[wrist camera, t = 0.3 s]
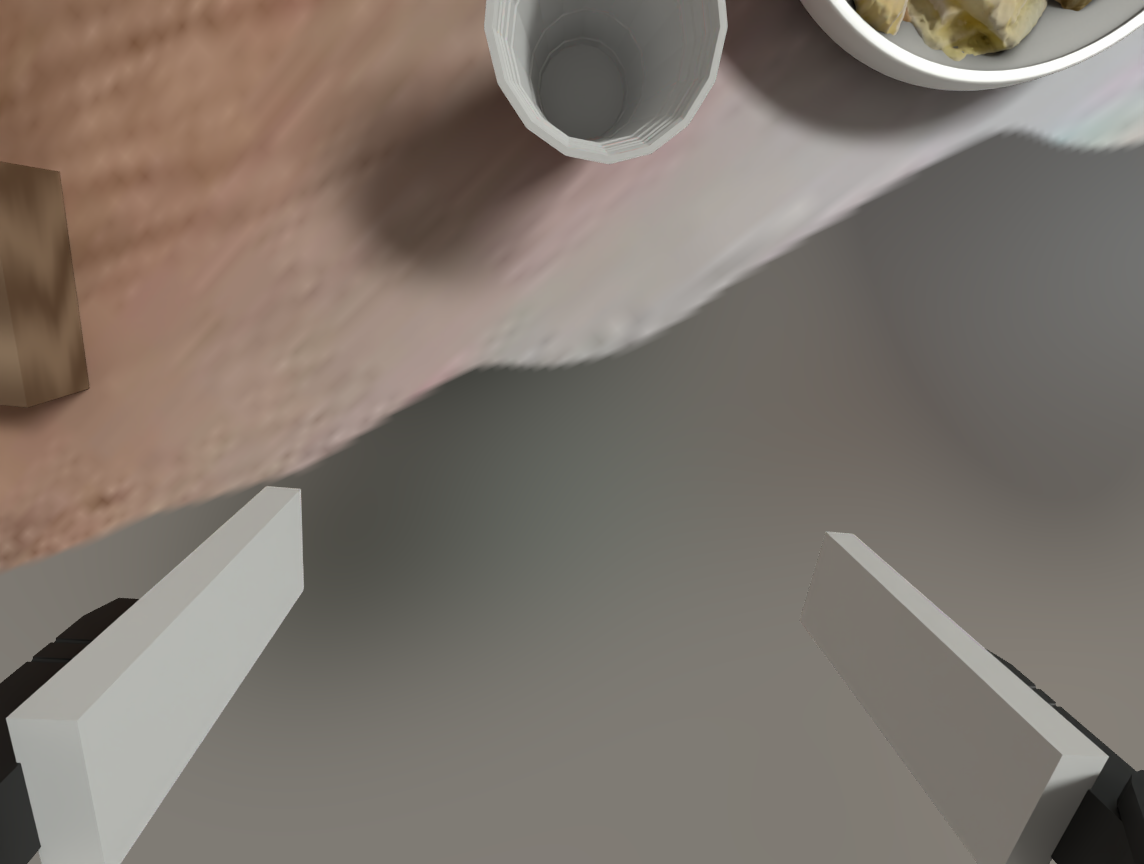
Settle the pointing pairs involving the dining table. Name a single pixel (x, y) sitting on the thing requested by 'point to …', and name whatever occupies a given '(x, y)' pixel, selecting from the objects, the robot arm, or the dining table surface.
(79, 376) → the walnut block
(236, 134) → the dining table surface
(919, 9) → the bowl
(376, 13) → the dining table surface
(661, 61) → the plastic cup
